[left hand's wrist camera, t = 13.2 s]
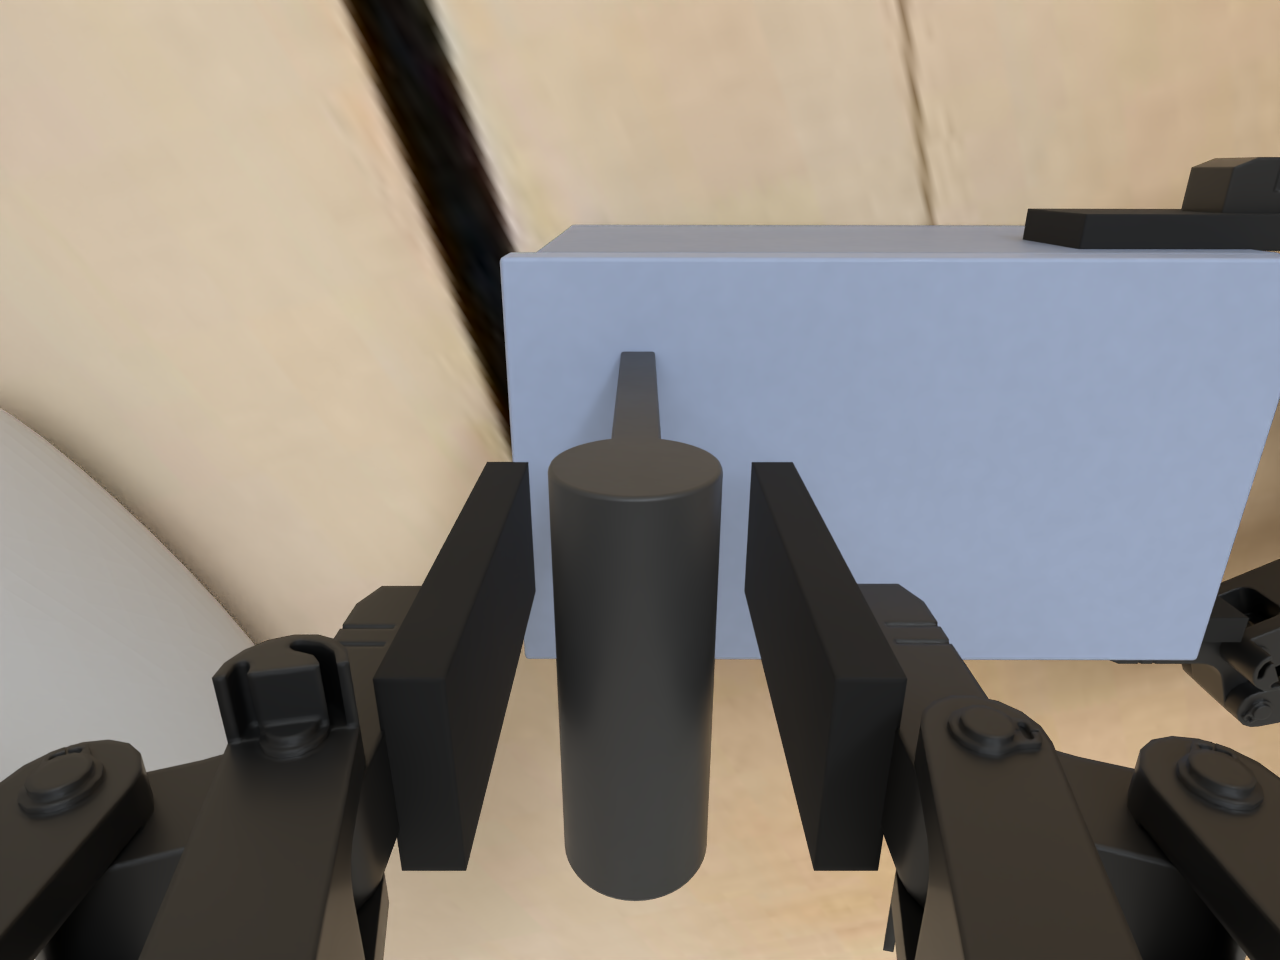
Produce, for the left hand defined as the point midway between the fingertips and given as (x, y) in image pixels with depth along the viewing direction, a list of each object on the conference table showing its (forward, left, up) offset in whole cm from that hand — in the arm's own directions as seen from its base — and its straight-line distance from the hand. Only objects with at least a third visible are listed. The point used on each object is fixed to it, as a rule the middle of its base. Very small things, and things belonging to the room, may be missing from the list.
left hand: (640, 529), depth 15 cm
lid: (+5, +2, -4) cm, 6 cm away
